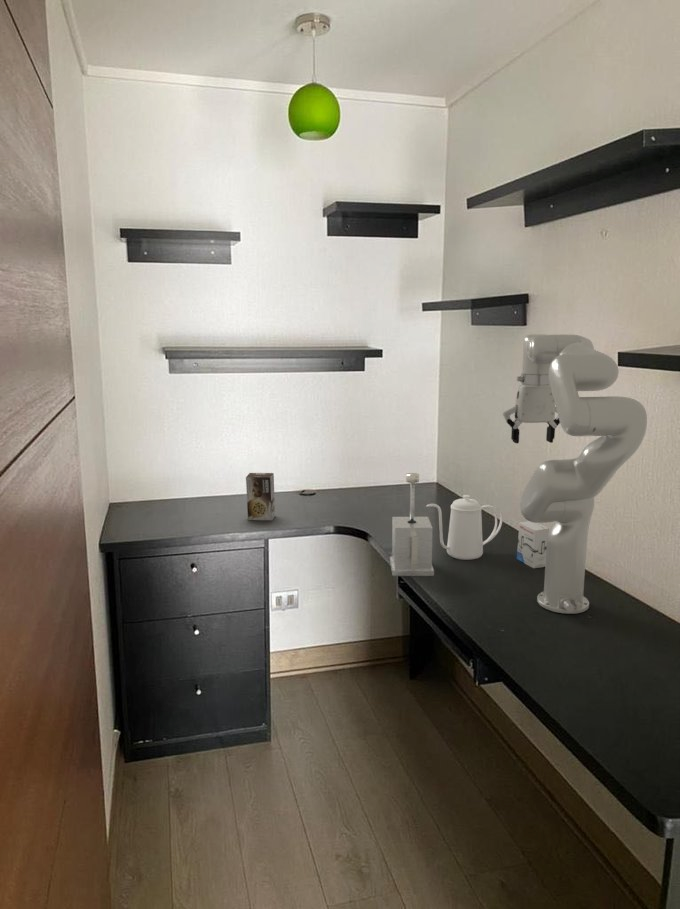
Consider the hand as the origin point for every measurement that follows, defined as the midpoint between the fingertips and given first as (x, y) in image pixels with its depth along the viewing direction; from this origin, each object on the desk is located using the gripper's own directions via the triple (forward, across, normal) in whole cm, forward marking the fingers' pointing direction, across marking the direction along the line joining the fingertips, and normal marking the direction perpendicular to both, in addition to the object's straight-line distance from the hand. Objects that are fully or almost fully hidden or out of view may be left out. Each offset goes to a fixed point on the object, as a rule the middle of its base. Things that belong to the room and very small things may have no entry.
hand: (532, 442), depth 191 cm
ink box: (+38, +3, +5) cm, 38 cm away
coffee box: (+38, -77, +58) cm, 104 cm away
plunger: (+27, -33, +4) cm, 43 cm away
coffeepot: (+38, -15, +13) cm, 42 cm away
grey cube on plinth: (+37, -33, +3) cm, 50 cm away
